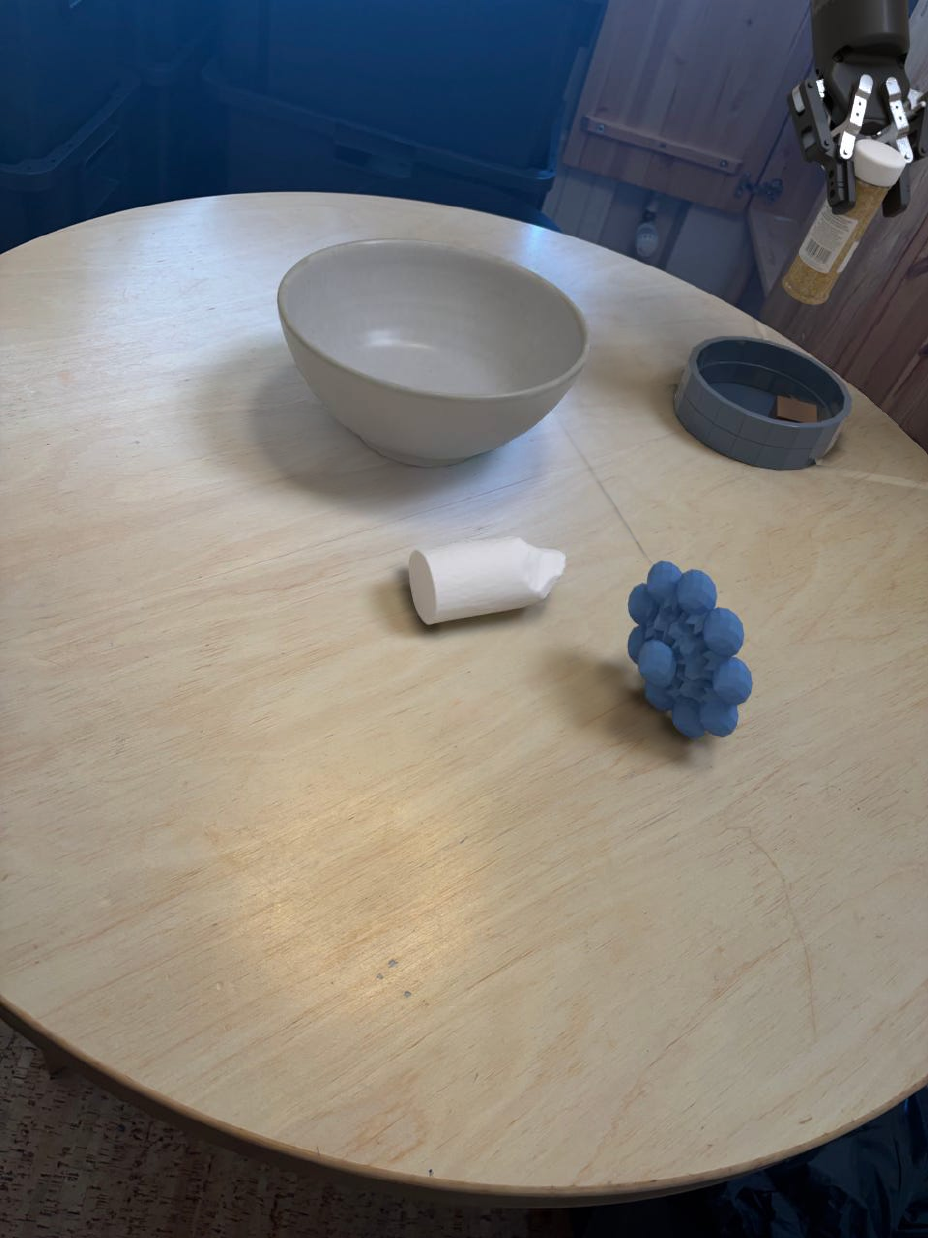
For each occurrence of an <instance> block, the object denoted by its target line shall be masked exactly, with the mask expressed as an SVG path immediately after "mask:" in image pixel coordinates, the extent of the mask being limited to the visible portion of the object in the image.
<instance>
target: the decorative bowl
mask: <svg viewBox="0 0 928 1238" xmlns="http://www.w3.org/2000/svg"><path fill="white" fill-rule="evenodd" d="M276 305H277V312H278V318H279V322H280V327H281V329H282V332H283V335H284V338H285V341H286V344H287V347H288V350H289V353H290V354H291V356H292V359H293V361H294V363H295V365H296V367H297V369H298V371H299V373H300V374H301V376H302V378H303V379H304V381H305V383H306V384H307V386H308V388H309V389H310V391H311V392H312V393H313V395H314V396H315V397H316V399H317V400H318V401H319V403H320V404H321V405H322V406H323V407H324V408H325V409H326V410H327V412H329V413H330V414H331V415H332V416H333V417H334V419H336V420H337V421H338V422H339V423H340V424H342V425H343V426H344V427H345V428H347V429H348V430H350V431H351V432H352V433H353V434H355V435H356V436H358V437H359V438H360V439H361V440H362V441H363V442H364V443H365V444H366V445H367V446H368V447H369V448H370V449H372V450H373V451H375V452H376V453H378V454H380V455H381V456H383V457H385V458H387V459H390V460H392V461H396V462H399V463H402V464H406V465H409V466H410V465H411V466H414V467H415V466H417V467H425V468H426V467H427V468H437V467H438V468H441V467H446V466H454V465H457V464H460V463H464V462H465V461H468V460H469V459H471V458H473V457H474V456H475V455H481V454H485V453H487V452H490V451H493V450H496V449H499V448H500V447H503V446H505V445H506V444H508V443H510V442H512V441H514V440H516V439H517V438H519V437H521V436H522V435H524V434H525V433H527V432H528V431H530V430H531V429H532V428H534V427H535V426H536V425H538V424H539V423H540V422H541V421H542V420H543V419H544V418H545V417H546V416H548V415H549V413H551V412H552V410H553V409H555V407H556V406H557V405H559V403H560V402H561V401H562V400H563V398H564V397H565V395H566V394H567V393H568V392H569V390H570V389H571V388H572V387H573V385H574V384H575V382H576V381H577V380H578V378H579V376H580V375H581V372H582V371H583V369H584V367H585V366H586V363H587V362H588V359H589V357H590V354H591V350H592V333H591V329H590V326H589V323H588V321H587V319H586V317H585V315H584V314H583V312H582V311H581V309H580V308H579V307H578V305H577V304H576V303H575V302H574V301H573V299H571V298H570V297H569V296H568V295H567V294H566V292H564V291H563V290H562V289H560V288H559V287H558V286H556V285H555V284H553V283H552V282H551V281H549V280H547V279H546V278H544V277H543V276H541V275H540V274H538V273H536V272H534V271H532V270H530V269H529V268H526V267H524V266H522V265H520V264H518V263H516V262H513V261H511V260H509V259H506V258H503V257H501V256H498V255H495V254H492V253H490V252H486V251H482V250H479V249H476V248H473V247H472V248H471V247H468V246H463V245H458V244H455V243H448V242H443V241H438V240H437V241H436V240H430V239H420V238H403V237H385V238H367V239H359V240H358V239H357V240H351V241H346V242H342V243H337V244H333V245H330V246H327V247H324V248H321V249H319V250H317V251H314V252H312V253H309V254H308V255H306V256H305V257H303V258H301V259H300V260H299V261H297V262H296V263H295V264H294V265H292V266H291V267H290V268H289V269H288V271H287V272H286V273H285V274H284V275H283V277H282V279H281V281H280V283H279V286H278V289H277V294H276Z"/></svg>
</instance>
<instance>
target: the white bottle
mask: <svg viewBox="0 0 928 1238" xmlns="http://www.w3.org/2000/svg"><path fill="white" fill-rule="evenodd" d="M566 561H567V556H566V555H565V553H563V552H562V551H560V550H557V549H552V548H546V547H542V548H541V547H537V546H534V545H532V544H529V543H528V542H526V541H525V540H524V539H523V538H521V537H519V536H517V535H507V536H506V535H505V536H499V537H492V538H484V539H476V540H475V539H474V540H466V541H465V540H463V541H456V542H453V543H449V544H444V545H439V546H433V547H426V548H420V549H414V550H413V551H412V552H411V553H410V555H409V559H408V579H409V580H408V581H409V586H410V591H411V596H412V602H413V605H414V608H415V610H416V613H417V614H418V617H420V619H421V620H422V622H423V623H425V625H429V626H430V625H433V624H439V623H444V622H449V621H453V620H460V619H465V618H472V617H477V616H483V615H488V614H494V613H499V612H506V611H511V610H518V609H521V608H525V607H528V606H531V605H534V604H536V603H539V602H541V601H543V600H545V599H546V598H547V596H548V595H549V594H550V592H551V591H552V589H553V587H554V586H555V585H556V584H557V582H558V581H559V580H560V579H561V578H562V576H563V574H564V570H565V569H566V568H567V565H566Z"/></svg>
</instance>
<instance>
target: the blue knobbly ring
mask: <svg viewBox="0 0 928 1238" xmlns="http://www.w3.org/2000/svg"><path fill="white" fill-rule="evenodd" d="M646 576H647V578H646V582H645V583H644V582H641V583H639V584H637V585H635V586H633V588H632V590H631V591H630V593H629V596H628V602H627V610H628V611H627V612H628V615H629V617H630V618H631V619H632V621H633V622H634V623H635V624H636V626H635V627H633V629H632V630H631V632H630V633H629V635H628V640H627V654H628V657H629V658H630V659H631V661H632V662H633V664H635V665H637V670H638V673H639V675H640V676H641V678H642V679H643V680H644V685H643V689H644V696H645V699H646V700H647V702H648V703H649V704H650V705H651V706H652V707H654V708H655V709H656V710H658V711H662V712H667V713H668V712H671V721H672V724H673V726H674V728H676V730H677V731H678V732H679V733H680V734H681V735H683V736H685V737H686V738H690V739H695V740H696V739H698V738H700V737H703V736H705V734H706V732H708V733H710V734H711V735H712V736H714V737H718V738H725V737H727V736H730V735H732V734H733V732H735V730H736V728H737V726H738V722H739V709H738V706H741V705H742V704H744V703H746V702H747V701H748V699H749V698H750V696H751V695H752V690H753V685H754V684H753V683H754V682H753V677H752V676H753V675H752V671H751V670H750V669H749V667H748V666H747V664H746V663H745V662H744V661H742V660H741V659H739V658H738V657H737V656H736V655H738V654H739V652H740V650H741V649H742V647H743V646H744V639H745V631H744V625H743V624H744V623H743V622H742V620H741V619H740V618H739V616H738V615H737V614H736V613H735V612H733V611H732V610H730V609H729V608H726V607H719V606H717V600H718V592H717V586H716V584H715V583H714V581H713V579H712V578H711V576H709V575H708V574H707V573H705V572H704V571H703V570H700V569H693V568H691V569H689V570H686V571H684V572H682V571H681V569H680V568H679V567H678V566H677V565H676V564H674V563H673V562H672V561H668V560H659V561H657V562H656V563H654V564H652V566H651V567H650V569H649V571H648V573H647V575H646ZM716 606H717V607H716Z"/></svg>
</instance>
